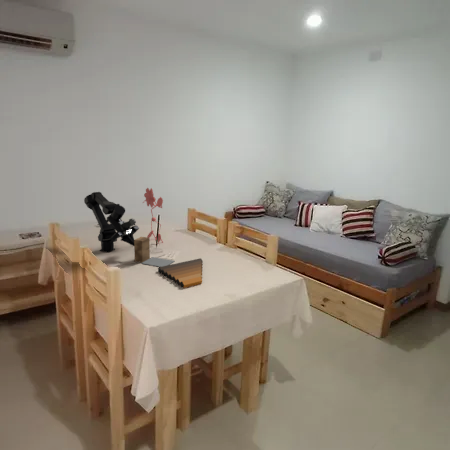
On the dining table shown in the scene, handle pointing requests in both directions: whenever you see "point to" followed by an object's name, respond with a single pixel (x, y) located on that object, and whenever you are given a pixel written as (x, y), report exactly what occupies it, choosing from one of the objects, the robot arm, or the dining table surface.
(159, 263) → the felt mat
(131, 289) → the dining table surface
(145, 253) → the walnut block
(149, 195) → the red flower sculpture
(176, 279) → the pan flute
